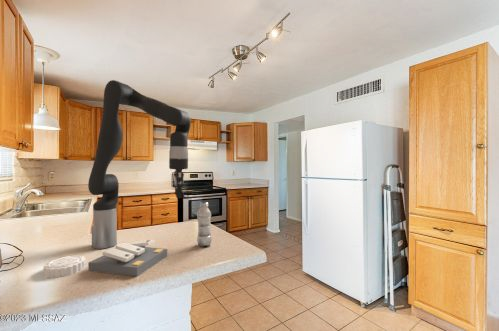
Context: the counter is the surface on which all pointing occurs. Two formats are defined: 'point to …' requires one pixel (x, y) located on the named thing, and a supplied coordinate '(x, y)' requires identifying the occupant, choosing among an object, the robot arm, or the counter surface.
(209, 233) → the plastic bottle
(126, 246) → the plate
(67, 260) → the mooncake
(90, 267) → the switch console
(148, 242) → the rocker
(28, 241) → the counter surface
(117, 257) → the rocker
